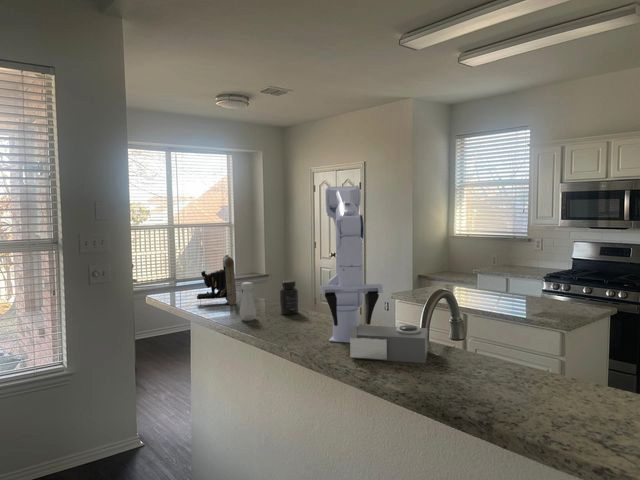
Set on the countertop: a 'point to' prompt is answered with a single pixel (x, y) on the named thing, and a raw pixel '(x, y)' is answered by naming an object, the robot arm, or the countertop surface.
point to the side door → (367, 346)
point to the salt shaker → (247, 302)
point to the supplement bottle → (289, 298)
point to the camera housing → (399, 342)
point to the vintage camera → (221, 282)
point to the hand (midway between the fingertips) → (351, 324)
